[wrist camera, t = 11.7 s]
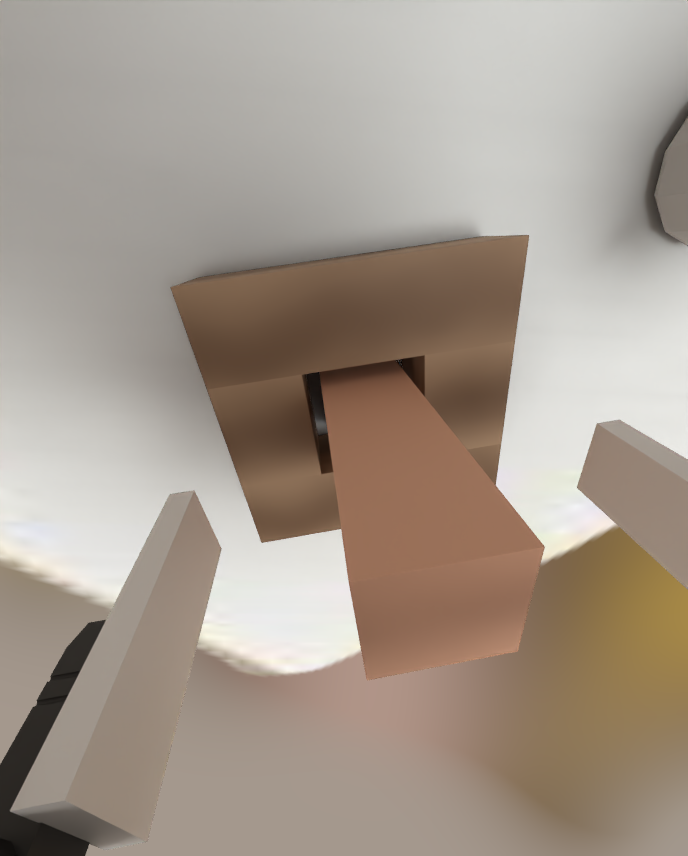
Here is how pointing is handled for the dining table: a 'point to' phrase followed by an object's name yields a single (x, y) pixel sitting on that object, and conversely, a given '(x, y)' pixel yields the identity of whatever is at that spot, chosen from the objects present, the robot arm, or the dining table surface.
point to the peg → (421, 529)
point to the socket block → (351, 357)
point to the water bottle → (674, 187)
